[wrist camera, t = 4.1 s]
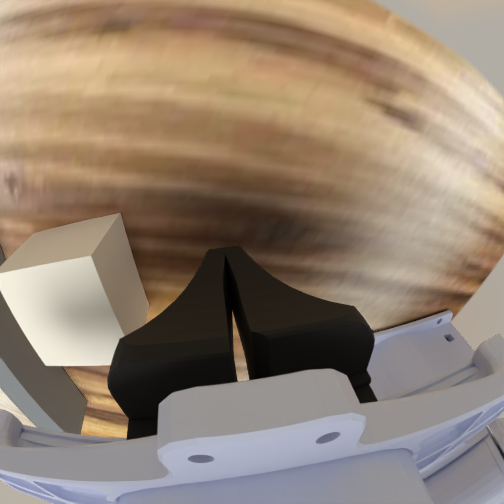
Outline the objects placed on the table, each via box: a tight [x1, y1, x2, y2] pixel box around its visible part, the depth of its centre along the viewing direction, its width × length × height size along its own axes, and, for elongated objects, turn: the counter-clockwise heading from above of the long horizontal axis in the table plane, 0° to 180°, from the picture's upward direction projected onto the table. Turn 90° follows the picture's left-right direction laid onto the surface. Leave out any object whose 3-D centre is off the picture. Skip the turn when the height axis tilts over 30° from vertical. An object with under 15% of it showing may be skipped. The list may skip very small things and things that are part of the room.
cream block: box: [0, 213, 149, 366], centre depth 11 cm, size 5×5×4 cm
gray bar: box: [0, 247, 88, 435], centre depth 12 cm, size 2×16×4 cm, turn 4°
